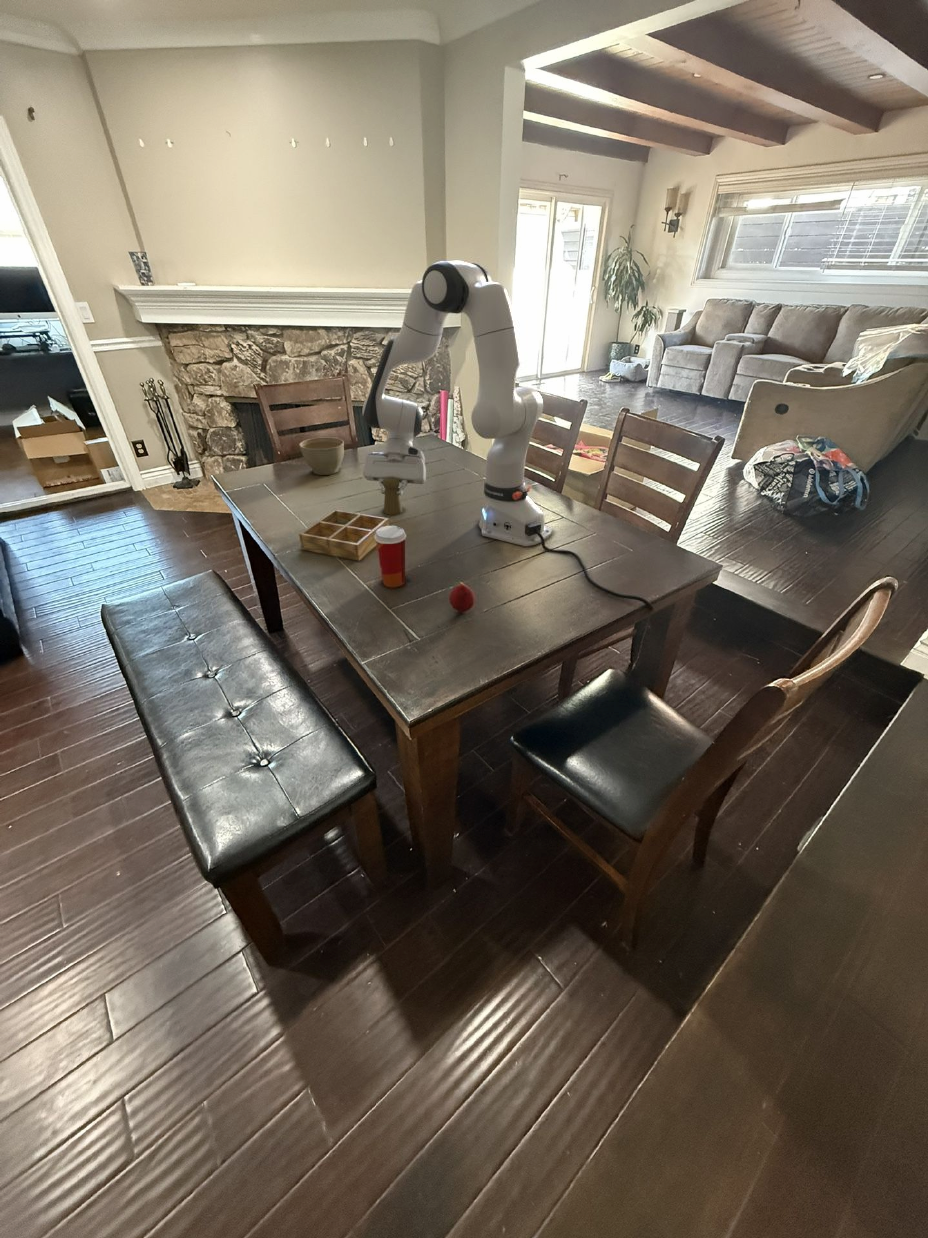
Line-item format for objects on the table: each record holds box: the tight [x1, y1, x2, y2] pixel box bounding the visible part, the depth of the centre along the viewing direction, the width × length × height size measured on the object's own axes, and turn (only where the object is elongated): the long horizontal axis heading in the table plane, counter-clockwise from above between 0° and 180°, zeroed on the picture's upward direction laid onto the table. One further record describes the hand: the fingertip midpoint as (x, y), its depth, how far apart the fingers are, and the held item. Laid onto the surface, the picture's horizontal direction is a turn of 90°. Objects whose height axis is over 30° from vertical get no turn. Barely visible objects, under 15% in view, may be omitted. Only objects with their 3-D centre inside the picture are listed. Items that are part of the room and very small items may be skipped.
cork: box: [383, 477, 403, 515], centre depth 164 cm, size 6×6×11 cm
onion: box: [449, 581, 476, 614], centre depth 117 cm, size 6×6×8 cm
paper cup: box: [374, 525, 407, 588], centre depth 126 cm, size 8×8×14 cm
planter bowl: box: [299, 436, 345, 476], centre depth 194 cm, size 16×16×11 cm
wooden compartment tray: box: [298, 509, 390, 562], centre depth 148 cm, size 18×18×5 cm
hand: (391, 493), depth 163 cm, fingers closed on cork, 4 cm apart
